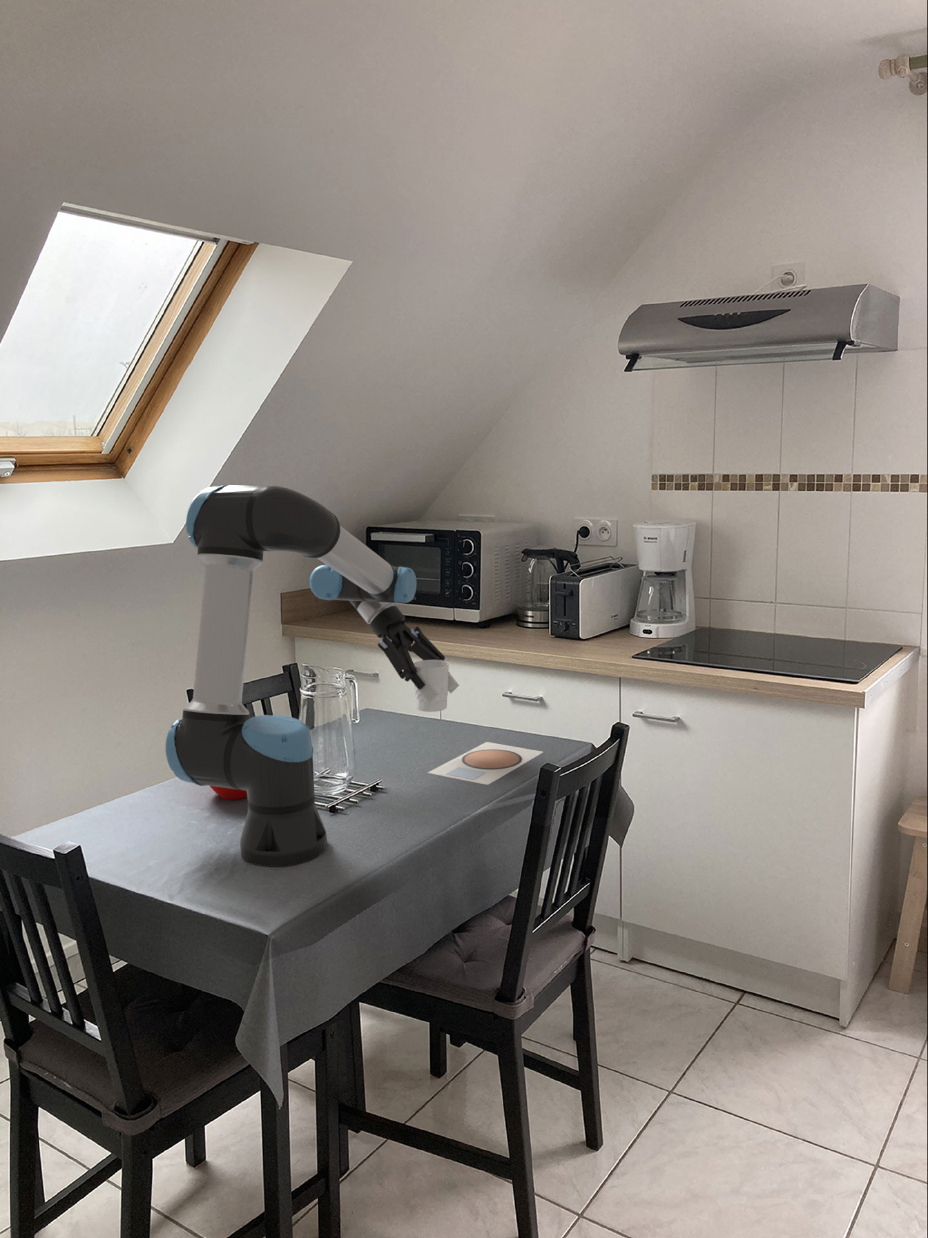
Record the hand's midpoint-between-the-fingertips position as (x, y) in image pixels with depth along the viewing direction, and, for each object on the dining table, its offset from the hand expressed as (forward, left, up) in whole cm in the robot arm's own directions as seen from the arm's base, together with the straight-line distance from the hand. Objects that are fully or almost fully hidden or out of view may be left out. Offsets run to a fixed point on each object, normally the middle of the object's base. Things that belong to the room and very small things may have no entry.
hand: (444, 693), depth 222 cm
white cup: (-1, +3, -4) cm, 5 cm away
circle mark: (+8, -7, -15) cm, 18 cm away
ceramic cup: (-43, +9, -16) cm, 47 cm away
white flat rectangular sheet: (+6, -8, -15) cm, 18 cm away
